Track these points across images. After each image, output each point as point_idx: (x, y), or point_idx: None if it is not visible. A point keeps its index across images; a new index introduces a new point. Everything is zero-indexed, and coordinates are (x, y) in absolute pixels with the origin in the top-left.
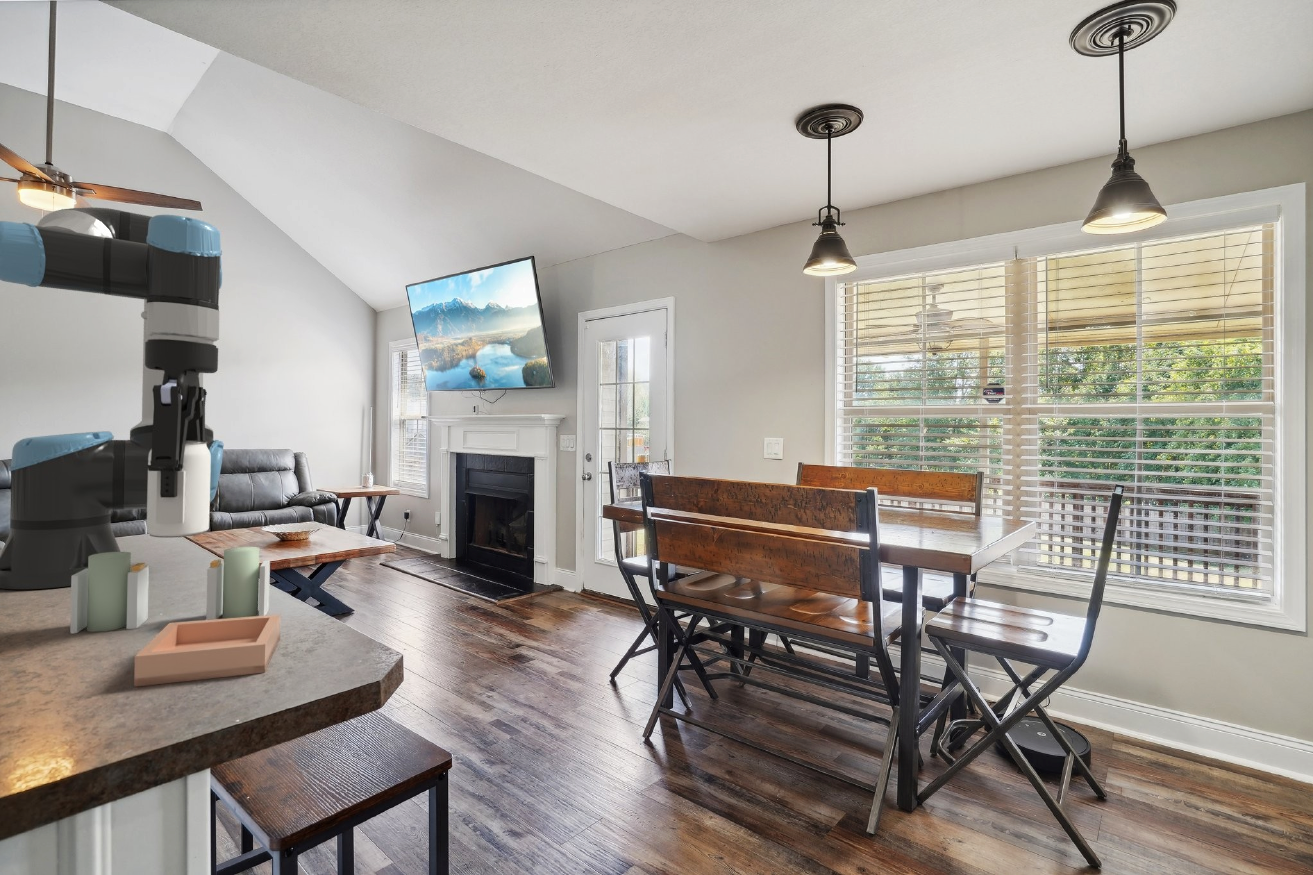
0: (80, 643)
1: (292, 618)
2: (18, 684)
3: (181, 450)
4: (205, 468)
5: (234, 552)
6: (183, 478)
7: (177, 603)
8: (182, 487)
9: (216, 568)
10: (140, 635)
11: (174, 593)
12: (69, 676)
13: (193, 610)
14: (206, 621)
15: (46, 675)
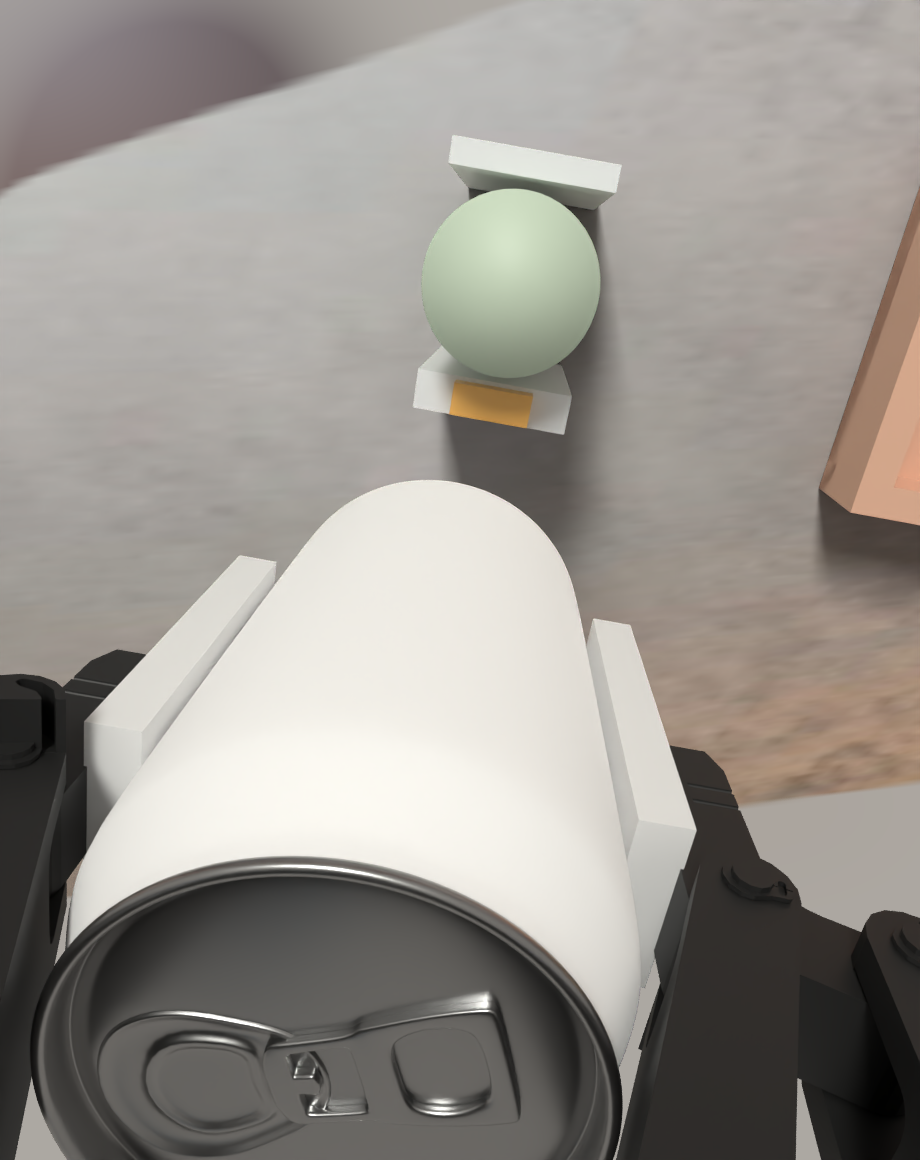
0: None
1: (659, 68)
2: (905, 773)
3: (791, 1022)
4: (512, 683)
5: (589, 324)
6: (681, 790)
7: (222, 497)
8: (665, 750)
9: (569, 397)
10: (605, 572)
11: (60, 515)
12: (917, 689)
13: (350, 442)
14: (909, 399)
15: (870, 734)
